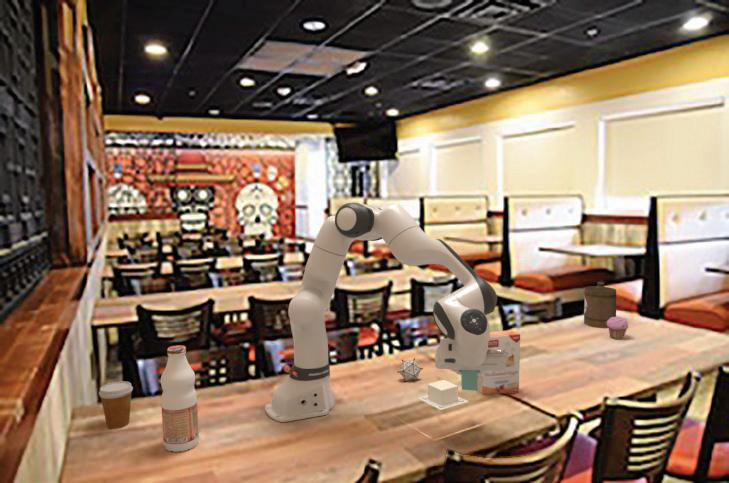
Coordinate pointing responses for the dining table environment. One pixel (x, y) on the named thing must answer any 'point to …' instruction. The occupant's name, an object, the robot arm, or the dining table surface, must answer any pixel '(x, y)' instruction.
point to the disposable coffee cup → (116, 403)
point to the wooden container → (599, 305)
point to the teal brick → (469, 379)
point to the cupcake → (617, 327)
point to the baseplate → (441, 407)
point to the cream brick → (443, 392)
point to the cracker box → (510, 377)
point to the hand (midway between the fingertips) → (469, 372)
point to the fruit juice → (179, 402)
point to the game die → (410, 370)
